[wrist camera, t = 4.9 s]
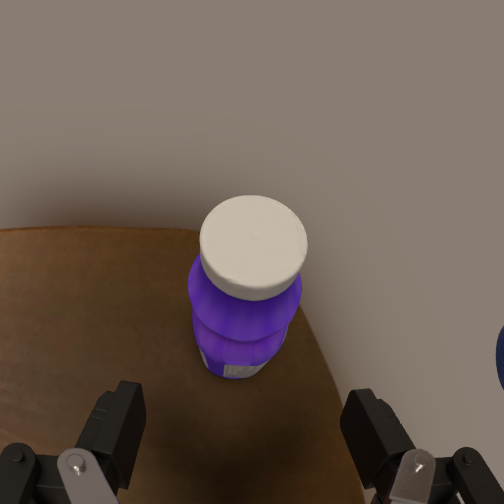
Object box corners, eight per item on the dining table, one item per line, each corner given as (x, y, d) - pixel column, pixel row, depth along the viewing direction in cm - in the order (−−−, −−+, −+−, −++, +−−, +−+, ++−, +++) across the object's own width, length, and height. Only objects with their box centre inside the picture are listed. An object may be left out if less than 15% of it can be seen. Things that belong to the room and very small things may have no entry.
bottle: (264, 383, 24) (338, 332, 9) (198, 379, 24) (161, 320, 9) (266, 307, 28) (320, 172, 13) (205, 302, 28) (194, 159, 13)
